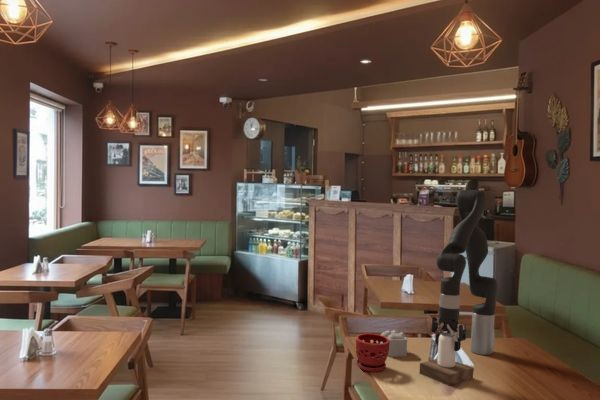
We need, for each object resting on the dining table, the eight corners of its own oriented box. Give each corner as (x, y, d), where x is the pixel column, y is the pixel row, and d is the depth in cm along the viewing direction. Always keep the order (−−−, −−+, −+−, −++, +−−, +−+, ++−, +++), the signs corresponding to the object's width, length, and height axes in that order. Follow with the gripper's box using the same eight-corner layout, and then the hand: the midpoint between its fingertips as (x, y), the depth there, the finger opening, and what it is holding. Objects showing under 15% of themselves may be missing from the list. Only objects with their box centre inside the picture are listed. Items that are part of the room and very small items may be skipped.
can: (455, 369, 199) (457, 337, 199) (437, 367, 201) (439, 335, 200) (454, 363, 206) (456, 332, 205) (437, 361, 207) (438, 330, 207)
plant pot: (350, 370, 205) (351, 339, 205) (361, 360, 217) (362, 331, 217) (382, 376, 200) (384, 345, 199) (392, 366, 212) (393, 336, 211)
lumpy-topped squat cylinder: (385, 357, 223) (386, 336, 222) (376, 347, 235) (377, 327, 235) (409, 356, 224) (410, 336, 224) (398, 347, 237) (399, 327, 237)
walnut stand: (443, 367, 213) (443, 357, 213) (472, 378, 201) (473, 367, 201) (419, 373, 204) (419, 363, 204) (449, 385, 193) (449, 374, 193)
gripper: (471, 308, 198) (469, 351, 199) (440, 300, 210) (439, 341, 211) (458, 310, 194) (456, 354, 195) (428, 302, 205) (426, 344, 206)
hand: (447, 347), depth 203 cm, fingers open, 8 cm apart
